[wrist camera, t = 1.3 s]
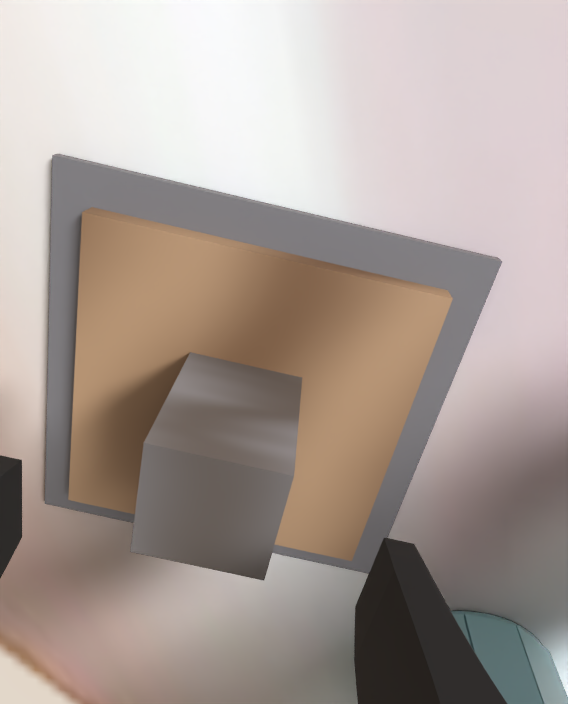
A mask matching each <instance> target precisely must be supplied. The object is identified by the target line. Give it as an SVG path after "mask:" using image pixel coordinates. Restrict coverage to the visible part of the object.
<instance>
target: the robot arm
mask: <svg viewBox="0 0 568 704" xmlns="http://www.w3.org/2000/svg"><path fill="white" fill-rule="evenodd" d="M21 538H22V460H19V459H14V458H9V457H5V456H0V578H1V576H2V574H3V572H4V570H5V569H6V567H7V565H8V563H9V561H10V559H11V557H12V555H13V553H14V551H15V549H16V548H17V546H18V544H19V542H20V540H21ZM354 661H355V673H356V685H357V696H358V704H507V702H506V701H505V699H504V698H503V696H502V695H501V693H500V692H499V690H498V689H497V687H496V686H495V684H494V682H493V681H492V679H491V678H490V676H489V675H488V673H487V671H486V670H485V668H484V667H483V665H482V663H481V662H480V660H479V659H478V657H477V655H476V653H475V652H474V650H473V648H472V647H471V645H470V643H469V642H468V640H467V638H466V637H465V635H464V633H463V632H462V630H461V628H460V627H459V625H458V623H457V621H456V620H455V618H454V616H453V614H452V613H451V611H450V609H449V607H448V605H447V604H446V602H445V600H444V598H443V596H442V595H441V593H440V591H439V589H438V587H437V585H436V584H435V582H434V580H433V578H432V576H431V574H430V572H429V571H428V569H427V567H426V565H425V563H424V561H423V559H422V558H421V556H420V554H419V552H418V550H417V549H416V547H415V545H414V544H412V543H407V542H402V541H398V540H393V539H388V538H383V541H382V543H381V546H380V548H379V551H378V553H377V555H376V558H375V560H374V563H373V565H372V568H371V570H370V572H369V575H368V577H367V580H366V582H365V585H364V587H363V589H362V592H361V594H360V597H359V599H358V602H357V604H356V607H355V657H354Z"/></svg>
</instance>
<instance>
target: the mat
mask: <svg viewBox="0 0 568 704" xmlns="http://www.w3.org/2000/svg"><path fill="white" fill-rule="evenodd" d="M91 207H94V208H98V209H102V210H107V211H111V212H115V213H120V214H124V215H128V216H132V217H137V218H141V219H145V220H149V221H154V222H158V223H162V224H166V225H171V226H175V227H179V228H184V229H188V230H192V231H196V232H201V233H205V234H209V235H213V236H218V237H222V238H226V239H230V240H235V241H239V242H243V243H248V244H252V245H256V246H260V247H265V248H269V249H273V250H277V251H282V252H286V253H290V254H295V255H299V256H303V257H307V258H312V259H316V260H320V261H324V262H329V263H333V264H337V265H341V266H346V267H350V268H354V269H359V270H363V271H367V272H371V273H376V274H380V275H384V276H388V277H393V278H397V279H401V280H406V281H410V282H414V283H418V284H423V285H427V286H431V287H435V288H440V289H444V290H448V292H449V293H450V295H451V297H452V298H453V300H452V302H451V305H450V308H449V310H448V313H447V315H446V318H445V321H444V323H443V326H442V328H441V331H440V334H439V336H438V339H437V341H436V344H435V347H434V349H433V352H432V354H431V357H430V360H429V362H428V365H427V367H426V370H425V373H424V375H423V378H422V380H421V383H420V385H419V388H418V391H417V393H416V396H415V398H414V401H413V404H412V406H411V409H410V411H409V414H408V417H407V419H406V422H405V424H404V427H403V430H402V432H401V435H400V437H399V440H398V443H397V445H396V448H395V450H394V453H393V455H392V458H391V461H390V463H389V466H388V468H387V471H386V474H385V476H384V479H383V481H382V484H381V487H380V489H379V492H378V494H377V497H376V500H375V502H374V505H373V507H372V510H371V513H370V515H369V518H368V520H367V523H366V526H365V528H364V531H363V533H362V536H361V538H360V541H359V544H358V546H357V549H356V551H355V554H354V557H353V559H352V561H349V560H344V559H340V558H335V557H330V556H326V555H321V554H316V553H312V552H307V551H303V550H298V549H293V548H289V547H284V546H279V545H275V544H274V548H273V551H272V553H276V554H281V555H285V556H290V557H294V558H299V559H304V560H308V561H313V562H318V563H322V564H327V565H332V566H336V567H341V568H346V569H350V570H355V571H359V572H364V573H369V572H370V570H371V568H372V565H373V563H374V560H375V558H376V555H377V553H378V551H379V548H380V546H381V543H382V541H383V538H387V537H388V535H389V532H390V530H391V528H392V525H393V523H394V520H395V518H396V516H397V513H398V511H399V508H400V506H401V504H402V501H403V499H404V496H405V494H406V492H407V489H408V487H409V484H410V482H411V480H412V477H413V475H414V472H415V470H416V468H417V465H418V463H419V460H420V458H421V456H422V453H423V451H424V448H425V446H426V444H427V441H428V439H429V436H430V434H431V431H432V429H433V427H434V424H435V422H436V419H437V417H438V415H439V412H440V410H441V407H442V405H443V403H444V400H445V398H446V395H447V393H448V391H449V388H450V386H451V383H452V381H453V379H454V376H455V374H456V371H457V369H458V367H459V364H460V362H461V359H462V357H463V355H464V352H465V350H466V347H467V345H468V343H469V340H470V338H471V335H472V333H473V331H474V328H475V326H476V323H477V321H478V319H479V316H480V314H481V311H482V309H483V307H484V304H485V302H486V299H487V297H488V294H489V292H490V290H491V287H492V285H493V282H494V280H495V278H496V275H497V273H498V270H499V268H500V266H501V263H502V261H501V260H500V259H499V258H496V257H492V256H487V255H483V254H479V253H475V252H471V251H466V250H462V249H458V248H454V247H449V246H445V245H441V244H437V243H433V242H428V241H424V240H420V239H416V238H411V237H407V236H403V235H399V234H395V233H390V232H386V231H382V230H378V229H374V228H369V227H365V226H361V225H357V224H352V223H348V222H344V221H340V220H336V219H331V218H327V217H323V216H319V215H314V214H310V213H306V212H302V211H298V210H293V209H289V208H285V207H281V206H276V205H272V204H268V203H264V202H260V201H255V200H251V199H247V198H243V197H238V196H234V195H230V194H226V193H222V192H217V191H213V190H209V189H205V188H201V187H196V186H192V185H188V184H184V183H179V182H175V181H171V180H167V179H163V178H158V177H154V176H150V175H146V174H141V173H137V172H133V171H129V170H125V169H120V168H116V167H112V166H108V165H103V164H99V163H95V162H91V161H87V160H82V159H78V158H74V157H70V156H66V155H61V154H55V155H52V199H51V245H50V291H49V336H48V382H47V428H46V473H45V504H49V505H53V506H58V507H63V508H67V509H72V510H76V511H81V512H86V513H90V514H95V515H100V516H104V517H109V518H114V519H118V520H123V521H127V522H132V523H134V518H135V514H131V513H127V512H122V511H117V510H113V509H108V508H104V507H99V506H94V505H90V504H85V503H80V502H76V501H71V500H68V497H69V476H70V455H71V434H72V413H73V392H74V371H75V350H76V329H77V308H78V287H79V266H80V245H81V225H82V212H83V211H85V210H87V209H89V208H91Z"/></svg>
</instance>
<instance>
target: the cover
mask: <svg viewBox="0 0 568 704" xmlns="http://www.w3.org/2000/svg"><path fill="white" fill-rule="evenodd" d="M452 300H453V298H452V297H451V295H450V293H449V292H448V290H444V289H440V288H435V287H431V286H427V285H423V284H418V283H414V282H410V281H406V280H401V279H397V278H393V277H388V276H384V275H380V274H376V273H371V272H367V271H363V270H359V269H354V268H350V267H346V266H341V265H337V264H333V263H329V262H324V261H320V260H316V259H312V258H307V257H303V256H299V255H295V254H290V253H286V252H282V251H277V250H273V249H269V248H265V247H260V246H256V245H252V244H248V243H243V242H239V241H235V240H230V239H226V238H222V237H218V236H213V235H209V234H205V233H201V232H196V231H192V230H188V229H184V228H179V227H175V226H171V225H166V224H162V223H158V222H154V221H149V220H145V219H141V218H137V217H132V216H128V215H124V214H120V213H115V212H111V211H107V210H102V209H98V208H94V207H91V208H89V209H87V210H85V211H83V212H82V225H81V245H80V266H79V287H78V308H77V329H76V350H75V371H74V392H73V413H72V434H71V455H70V476H69V497H68V500H71V501H76V502H80V503H85V504H90V505H94V506H99V507H104V508H108V509H113V510H117V511H122V512H127V513H131V514H135V518H134V526H133V534H132V542H131V551H130V552H134V553H138V554H143V555H148V556H152V557H157V558H162V559H166V560H171V561H176V562H180V563H185V564H190V565H194V566H199V567H204V568H208V569H213V570H218V571H222V572H227V573H232V574H236V575H241V576H246V577H251V578H255V579H260V580H264V579H265V575H266V572H267V568H268V565H269V561H270V558H271V555H272V551H273V548H274V544H275V545H279V546H284V547H289V548H293V549H298V550H303V551H307V552H312V553H316V554H321V555H326V556H330V557H335V558H340V559H344V560H349V561H352V559H353V557H354V554H355V551H356V549H357V546H358V544H359V541H360V538H361V536H362V533H363V531H364V528H365V526H366V523H367V520H368V518H369V515H370V513H371V510H372V507H373V505H374V502H375V500H376V497H377V494H378V492H379V489H380V487H381V484H382V481H383V479H384V476H385V474H386V471H387V468H388V466H389V463H390V461H391V458H392V455H393V453H394V450H395V448H396V445H397V443H398V440H399V437H400V435H401V432H402V430H403V427H404V424H405V422H406V419H407V417H408V414H409V411H410V409H411V406H412V404H413V401H414V398H415V396H416V393H417V391H418V388H419V385H420V383H421V380H422V378H423V375H424V373H425V370H426V367H427V365H428V362H429V360H430V357H431V354H432V352H433V349H434V347H435V344H436V341H437V339H438V336H439V334H440V331H441V328H442V326H443V323H444V321H445V318H446V315H447V313H448V310H449V308H450V305H451V302H452Z"/></svg>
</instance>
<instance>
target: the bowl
mask: <svg viewBox="0 0 568 704" xmlns="http://www.w3.org/2000/svg"><path fill="white" fill-rule="evenodd" d="M451 613H452V614H453V616H454V618H455V620H456V621H457V623H458V625H459V627H460V628H461V630H462V632H463V633H464V635H465V637H466V638H467V640H468V642H469V643H470V645H471V647H472V648H473V650H474V652H475V653H476V655H477V657H478V659H479V660H480V662H481V663H482V665H483V667H484V668H485V670H486V671H487V673H488V675H489V676H490V678H491V679H492V681H493V682H494V684H495V686H496V687H497V689H498V690H499V692H500V693H501V695H502V696H503V698H504V699H505V701H506V702H507V704H568V697H567V695H566V692H565V690H564V687H563V685H562V682H561V680H560V677H559V674H558V672H557V669H556V667H555V664H554V662H553V659H552V657H551V654H550V652H549V650H547V649H546V648H545V647H544V646H543V645H542V644H541V642H540V641H539V640H538V639H537V638H536V637H535V636H534V635H533V634H532V633H531V632H529V631H528V630H526V629H525V628H523V627H522V626H520V625H518V624H516V623H514V622H512V621H509V620H507V619H504V618H501V617H498V616H494V615H490V614H486V613H480V612H471V611H451Z"/></svg>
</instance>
